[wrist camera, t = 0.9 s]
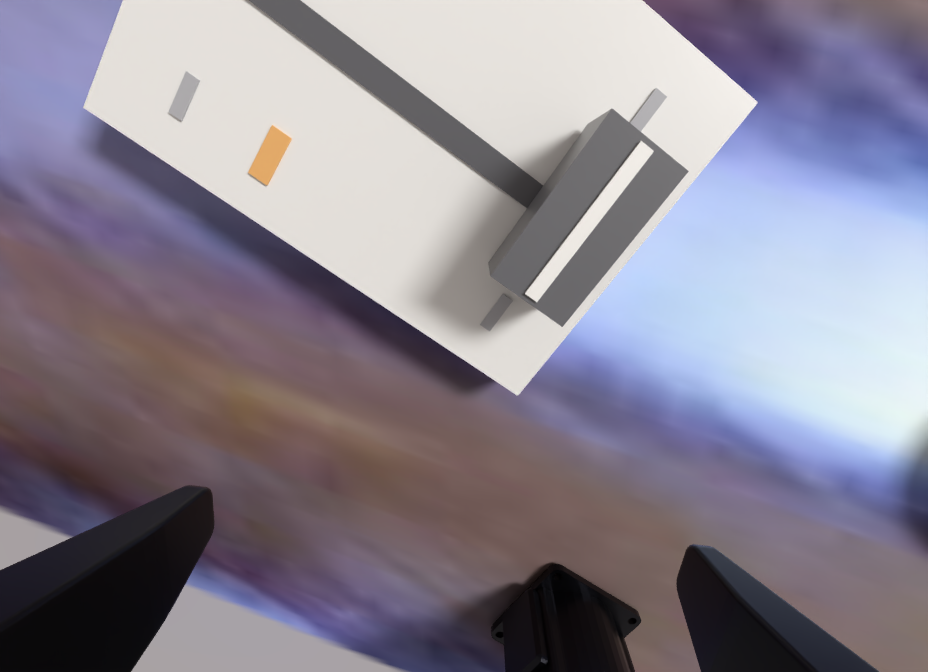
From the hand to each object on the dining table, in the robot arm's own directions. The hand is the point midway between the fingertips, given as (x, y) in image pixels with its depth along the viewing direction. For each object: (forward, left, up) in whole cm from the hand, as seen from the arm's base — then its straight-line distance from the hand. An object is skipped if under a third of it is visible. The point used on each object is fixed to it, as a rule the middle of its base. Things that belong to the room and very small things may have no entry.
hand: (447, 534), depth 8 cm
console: (+7, -6, -13) cm, 16 cm away
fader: (0, -6, -11) cm, 12 cm away
